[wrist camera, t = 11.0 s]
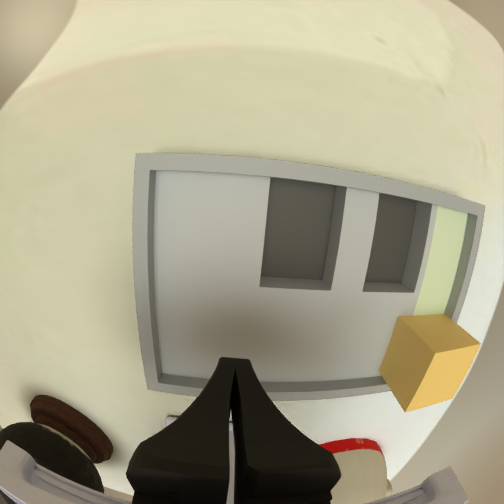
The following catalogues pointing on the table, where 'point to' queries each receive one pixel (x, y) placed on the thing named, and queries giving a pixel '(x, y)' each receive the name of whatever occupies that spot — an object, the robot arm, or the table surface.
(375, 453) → the kitchen timer
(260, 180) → the box
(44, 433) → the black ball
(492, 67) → the table surface
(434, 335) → the block
